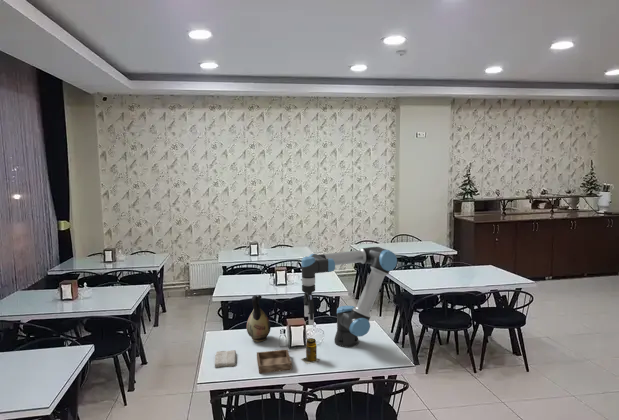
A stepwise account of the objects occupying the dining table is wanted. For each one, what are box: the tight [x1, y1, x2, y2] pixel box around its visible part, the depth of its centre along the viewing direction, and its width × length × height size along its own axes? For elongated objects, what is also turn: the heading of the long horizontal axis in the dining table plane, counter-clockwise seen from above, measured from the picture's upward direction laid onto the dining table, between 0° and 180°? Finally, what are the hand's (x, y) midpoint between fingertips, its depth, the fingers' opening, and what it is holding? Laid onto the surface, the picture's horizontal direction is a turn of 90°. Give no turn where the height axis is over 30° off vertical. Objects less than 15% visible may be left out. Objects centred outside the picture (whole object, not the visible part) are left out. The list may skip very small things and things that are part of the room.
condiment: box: [300, 337, 320, 365], centre depth 252 cm, size 7×8×12 cm
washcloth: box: [214, 349, 237, 368], centre depth 255 cm, size 12×18×3 cm, turn 10°
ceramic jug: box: [246, 294, 272, 343], centre depth 282 cm, size 17×15×30 cm
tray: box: [256, 349, 293, 374], centre depth 248 cm, size 18×18×4 cm
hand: (309, 320), depth 250 cm, fingers open, 13 cm apart
